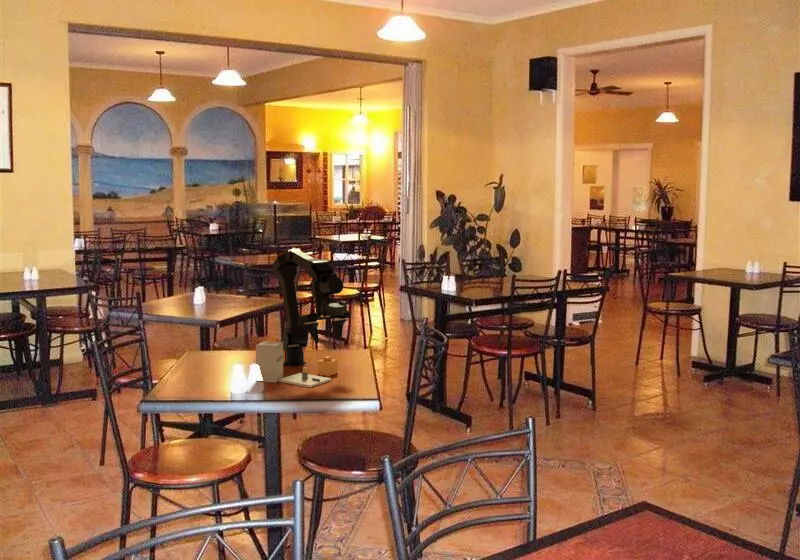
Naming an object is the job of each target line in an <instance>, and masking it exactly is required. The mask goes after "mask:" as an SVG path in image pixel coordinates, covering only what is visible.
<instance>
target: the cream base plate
mask: <svg viewBox="0 0 800 560" xmlns="http://www.w3.org/2000/svg"><path fill="white" fill-rule="evenodd" d="M328 381H329V382H331V381H332V378H331V377H327V376H322V375H315V374H309V372H308V367H306V366H305V367H302V372H298V373H294V374H291V375H288V376H285V377H284V376H283V378H281V379H278V381H277V382H279V383H284V384H289V385H294V386H300V387H306V388H313V386H314V387H317V386H319V384H320V385H322V383H323V384H325V382H326V383H329V382H328ZM316 385H317V386H316Z"/></svg>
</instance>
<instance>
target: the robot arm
mask: <svg viewBox="0 0 800 560" xmlns="http://www.w3.org/2000/svg"><path fill="white" fill-rule="evenodd" d="M329 262H330V261H328V260H327V259H321V258H319V259H318V258H314V257H312V256H310V255H309V254H307V253H305V252H303V251H302V250H301V249H298V248H292V249H291V248H290V249H286V250H285V252H284V253H283V254H281V255H279V256H277V257H276V258H275V260H274V261H273V263H272V270H273V271H274V272H273V274H274V277H275V278H276V279H277V281H279V283H280V287H281V294H282V299H283V304H284V305H283V306H284V311H285V318H286V323H285V326H284V328H283V336H282V337H281V339H280V341H279V342H283V350H284V361H283V365H285V366H286V365H287V366H291V367H296V366H300V365H304V364H306V363H307V362H306V361H305V358H304V355H305V354H304V348H306V347H308V341H309V334H310V336H311V337H312V339H313V341H314V344H319V342H320V341H319V340H320V339H319V338H320V337H319V331H318V327H319V325H320V324H319V322H318V321H322V320H324V321H325V320H331V319H332V321H331V324H332V329H333V332H334V336H335V339H336V342H337V341H338V342H340V340H341V335H342V331H343V328H344V324H345V323H346V322H347V321H349V319H351V312H350V311H349V310H348V305H347V302H346V301H343V300H342V301H338V302H337V303H335V299H334V298H333V297H331V296H332V295H333V296H334V295H336V294H340V293H341V292H342V291H343V289H344V282H343V281H342V279H341V278H340V277H338V275H337V273H336V272H335V270H333V268H332V265H331V264H330V263H329ZM299 267H301V268H302V269H304V270H305V273H306V274H307V275H308V277H309V278H312V280H311V281H310V283H309V286H312V291H313V299H314V300H312V304H311V305H314V308H315V312H314V313H307V314H301V315H300V309H299V305H298V303H299V302H298V297H297V291H296V286H295V279H296V276H297V274H298V268H299Z"/></svg>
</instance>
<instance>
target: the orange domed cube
mask: <svg viewBox="0 0 800 560" xmlns="http://www.w3.org/2000/svg"><path fill="white" fill-rule="evenodd" d="M316 362H317V363H316V369H317V370H316V371H317V372H316V373H317V374H321V375H320V376H323V375H326V376H325V377H331V376H330V375H332V376H334V375H333V374H335V375H336V373H338V372H339V371H338V359H334V358H333V357H332V356H329V355H326V356H323V357H322V359H319V360H316ZM317 374H316V375H317Z"/></svg>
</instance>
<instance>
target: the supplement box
mask: <svg viewBox="0 0 800 560" xmlns="http://www.w3.org/2000/svg"><path fill="white" fill-rule="evenodd" d="M283 362H284V349H283V342H280V341H269V340H266V341H265V340H263V341H261V342H259V343H258V344H256V345H255V365H256V364H258V365H259V366H260V370H261V374H262V377H263V380H264V382H263V383H277V382H278V379H281V378H284V364H283Z"/></svg>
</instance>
